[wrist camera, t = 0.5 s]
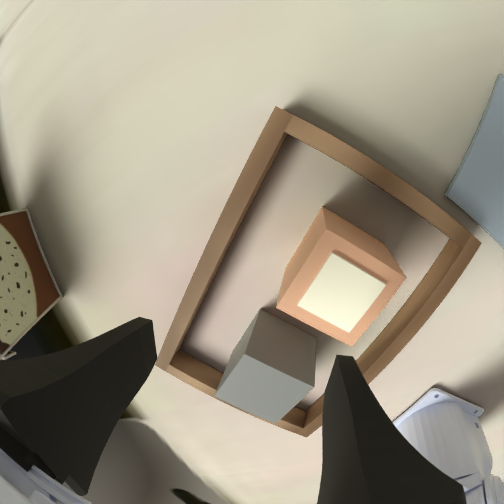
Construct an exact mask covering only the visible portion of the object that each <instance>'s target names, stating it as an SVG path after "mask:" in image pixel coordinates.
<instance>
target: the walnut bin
mask: <svg viewBox="0 0 504 504" xmlns="http://www.w3.org/2000/svg"><path fill="white" fill-rule="evenodd" d="M287 134H289V135H291V136H293V137H295V138H297V139H299V140H300V141H302V142H304V143H306V144H308V145H310V146H312V147H313V148H315V149H317V150H319V151H321V152H322V153H324V154H326V155H328V156H329V157H331V158H333V159H335V160H336V161H338V162H340V163H341V164H343V165H345V166H346V167H348V168H350V169H351V170H353V171H355V172H356V173H358V174H360V175H361V176H363V177H364V178H366V179H368V180H369V181H371V182H372V183H374V184H375V185H377V186H378V187H380V188H381V189H383V190H384V191H386V192H387V193H389V194H390V195H392V196H393V197H395V198H396V199H398V200H399V201H401V202H402V203H404V204H405V205H406V206H408V207H409V208H411V209H412V210H413V211H415V212H416V213H418V214H419V215H420V216H422V217H423V218H424V219H426V220H427V221H428V222H430V223H431V224H432V225H434V226H435V227H436V228H438V229H439V230H440V231H442V232H443V233H444V234H445V235H447V236H448V237H449V238H450V239H449V241H448V242H447V244H446V245H445V247H444V249H443V250H442V252H441V253H440V255H439V256H438V258H437V259H436V261H435V262H434V264H433V265H432V267H431V268H430V270H429V271H428V272H427V274H426V275H425V277H424V278H423V280H422V281H421V282H420V284H419V285H418V286H417V288H416V289H415V291H414V292H413V293H412V295H411V296H410V297H409V299H408V300H407V301H406V302H405V304H404V305H403V306H402V308H401V309H400V310H399V311H398V313H397V314H396V315H395V316H394V318H393V319H392V320H391V321H390V323H389V324H388V325H387V326H386V327H385V329H384V330H383V331H382V332H381V333H380V335H379V336H378V337H377V338H376V339H375V340H374V341H373V343H372V344H371V345H370V346H369V347H368V348H367V349H366V351H365V352H364V353H363V354H362V355H361V356H360V357H359V358H358V359H357V360H356V363H357V365H358V367H359V369H360V371H361V373H362V375H363V376H364V378H365V380H366V382H367V384H369V383H370V382H371V381H372V380H373V379H374V378H375V377H376V376H377V375H378V374H379V373H380V372H381V371H382V370H383V369H384V368H385V367H386V366H387V365H388V364H389V363H390V362H391V361H392V360H393V359H394V358H395V357H396V355H397V354H398V353H399V352H400V351H401V350H402V349H403V348H404V347H405V346H406V344H407V343H408V342H409V341H410V340H411V339H412V338H413V337H414V335H415V334H416V333H417V332H418V331H419V329H420V328H421V327H422V326H423V325H424V323H425V322H426V321H427V320H428V319H429V317H430V316H431V315H432V314H433V312H434V311H435V310H436V308H437V307H438V306H439V305H440V303H441V302H442V301H443V299H444V298H445V297H446V295H447V294H448V293H449V291H450V290H451V288H452V287H453V286H454V284H455V283H456V281H457V280H458V278H459V277H460V276H461V274H462V273H463V271H464V270H465V268H466V267H467V265H468V264H469V262H470V261H471V259H472V257H473V256H474V254H475V253H476V251H477V250H478V248H479V246H480V245H481V242H480V241H479V240H478V239H476V238H475V237H474V236H473V235H472V234H471V233H470V232H469V231H467V230H466V229H465V228H464V227H463V226H462V225H460V224H459V223H458V222H457V221H456V220H454V219H453V218H452V217H451V216H450V215H448V214H447V213H446V212H445V211H443V210H442V209H441V208H440V207H438V206H437V205H436V204H434V203H433V202H432V201H431V200H429V199H428V198H427V197H425V196H424V195H423V194H421V193H420V192H419V191H417V190H416V189H415V188H413V187H412V186H410V185H409V184H408V183H406V182H405V181H403V180H402V179H400V178H399V177H398V176H396V175H395V174H393V173H392V172H390V171H389V170H387V169H386V168H384V167H383V166H381V165H380V164H378V163H377V162H375V161H374V160H372V159H370V158H369V157H367V156H366V155H364V154H362V153H361V152H359V151H358V150H356V149H354V148H353V147H351V146H349V145H348V144H346V143H344V142H342V141H341V140H339V139H337V138H336V137H334V136H332V135H330V134H328V133H327V132H325V131H323V130H321V129H319V128H318V127H316V126H314V125H312V124H310V123H308V122H306V121H304V120H302V119H301V118H299V117H297V116H295V115H293V114H291V113H289V112H287V111H285V110H282V109H280V108H278V107H276V106H275V108H274V110H273V112H272V114H271V116H270V118H269V120H268V121H267V123H266V125H265V127H264V129H263V131H262V133H261V135H260V137H259V139H258V141H257V143H256V145H255V147H254V149H253V150H252V152H251V154H250V156H249V158H248V160H247V162H246V164H245V166H244V168H243V170H242V172H241V174H240V176H239V178H238V180H237V182H236V184H235V186H234V189H233V191H232V193H231V195H230V197H229V199H228V201H227V203H226V205H225V207H224V209H223V211H222V213H221V215H220V218H219V220H218V222H217V224H216V226H215V228H214V230H213V232H212V235H211V237H210V239H209V241H208V243H207V245H206V248H205V250H204V252H203V254H202V256H201V258H200V261H199V263H198V265H197V267H196V270H195V272H194V274H193V276H192V279H191V281H190V283H189V285H188V288H187V290H186V292H185V294H184V297H183V299H182V301H181V304H180V306H179V308H178V311H177V313H176V315H175V318H174V320H173V322H172V325H171V327H170V329H169V332H168V334H167V337H166V339H165V341H164V344H163V346H162V349H161V351H160V354H159V356H158V359H157V361H156V364H155V365H156V366H157V367H159V368H161V369H163V370H164V371H166V372H168V373H169V374H171V375H173V376H175V377H176V378H178V379H180V380H182V381H183V382H185V383H187V384H189V385H191V386H193V387H194V388H196V389H198V390H200V391H202V392H204V393H206V394H208V395H210V396H212V397H214V398H216V399H218V400H220V401H222V402H224V403H226V404H228V405H230V406H232V407H234V408H236V409H239V410H241V411H243V412H245V413H247V414H250V415H252V416H254V417H256V418H259V419H261V420H263V421H266V422H268V423H271V424H273V425H276V426H278V427H281V428H283V429H286V430H288V431H291V432H294V433H296V434H299V435H302V436H304V437H308V436H309V435H310V434H312V433H313V432H314V431H315V430H317V429H318V428H319V427H320V426H322V413H323V403H324V394H323V395H322V396H321V397H320V398H319V399H318V400H317V401H316V402H315V403H313V404H312V405H311V406H310V407H309V408H308V409H307V410H306V411H304V410H301V409H299V408H296V407H293V408H292V409H291V410H290V411H289V412H288V413H287V414H286V415H285V416H284V417H283V418H282V419H280V420H279V421H278V422H277V423H276V424H275V423H272V422H270V421H267V420H265V419H263V418H260V417H258V416H256V415H253V414H251V413H249V412H247V411H244V410H242V409H240V408H238V407H236V406H234V405H231V404H229V403H227V402H225V401H223V400H221V399H219V398H217V397H215V396H214V395H215V393H216V391H217V388H218V386H219V383H220V381H221V379H222V376H223V373H221V372H219V371H217V370H215V369H214V368H212V367H210V366H208V365H206V364H204V363H202V362H201V361H199V360H197V359H195V358H193V357H192V356H190V355H188V354H186V353H184V352H183V351H181V350H179V348H180V346H181V344H182V342H183V340H184V338H185V335H186V333H187V331H188V329H189V327H190V325H191V323H192V321H193V319H194V317H195V315H196V313H197V311H198V309H199V306H200V304H201V302H202V300H203V298H204V296H205V294H206V292H207V290H208V288H209V286H210V284H211V282H212V280H213V278H214V276H215V274H216V272H217V270H218V268H219V266H220V264H221V262H222V260H223V258H224V256H225V254H226V252H227V250H228V248H229V246H230V244H231V242H232V240H233V238H234V236H235V234H236V232H237V230H238V228H239V226H240V224H241V222H242V220H243V218H244V216H245V214H246V212H247V210H248V208H249V207H250V205H251V203H252V201H253V199H254V197H255V195H256V193H257V191H258V189H259V187H260V185H261V183H262V181H263V179H264V178H265V176H266V174H267V172H268V170H269V168H270V166H271V164H272V162H273V160H274V158H275V157H276V155H277V153H278V151H279V149H280V147H281V145H282V143H283V141H284V140H285V138H286V136H287Z"/></svg>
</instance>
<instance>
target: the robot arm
mask: <svg viewBox="0 0 504 504" xmlns="http://www.w3.org/2000/svg"><path fill="white" fill-rule="evenodd" d="M156 360H157V353H156V346H155V338H154V331H153V322H152V320H149V319H145V318H142V317H138V318H136V319H133V320H131V321H129V322H127V323H125V324H123V325H121V326H119V327H116V328H114V329H112V330H110V331H108V332H106V333H104V334H102V335H100V336H98V337H95V338H93V339H91V340H88V341H86V342H83V343H81V344H79V345H76V346H74V347H71V348H68V349H65V350H62V351H59V352H55V353H52V354H48V355H43V356H38V357H34V358H29V359H21V360H12V361H11V360H10V361H0V504H57V502H56V500H57V501H58V502H60V503H61V504H92V503H90V502H89V501H87V500H85V499H84V498H82V497H80V496H83V495H86V494H87V493H88V489H89V486H90V483H91V480H92V477H93V474H94V471H95V468H96V466H97V463H98V461H99V459H100V456H101V454H102V451H103V449H104V447H105V445H106V443H107V441H108V438H109V436H110V435H111V433H112V431H113V429H114V427H115V425H116V423H117V422H118V420H119V418H120V417H121V415H122V414H123V412H124V411H125V409H126V408H127V407H128V405H129V404H130V402H131V401H132V400H133V398H134V397H135V395H136V394H137V393H138V391H139V390H140V388H141V387H142V385H143V384H144V382H145V381H146V380H147V378H148V376H149V374H150V372H151V371H152V369H153V366H154V364H155V362H156ZM436 394H437V395H436ZM483 412H484V409H483V408H481V407H479V406H477V405H474V404H472V403H470V402H467V401H465V400H463V399H460V398H458V397H456V396H454V395H451V394H449V393H447V392H444V391H442V390H440V389H438V388H432V389H430V390H429V391H428V392H427V393H426V394H425V395H424V396H423V397H422V398H421V399H419V400H418V401H417V402H416V403H415V404H414V405H413V406H412V407H410V408H409V409H408V410H407V411H406V412H404V413H403V414H402V415H401V416H400V417H398V418H397V419H396V420H395V421H394V422H392V421H391V420H390V419H389V417H388V416H387V414H386V413H385V411H384V410H383V409H382V407H381V406H380V404H379V402H378V401H377V399H376V397H375V396H374V394H373V392H372V391H371V389H370V387H369V386H368V384H367V382H366V380H365V378H364V376H363V375H362V373H361V371H360V369H359V367H358V365H357V363H356V361H355V359H354V358H353V356H343V355H337V356H336V359H335V362H334V365H333V369H332V372H331V375H330V378H329V381H328V384H327V387H326V390H325V393H324V403H323V413H322V436H323V464H322V476H321V483H320V490H319V496H318V502H317V504H504V486H503V483H502V481H501V479H500V477H499V476H494V475H493V474H490V473H491V469H492V456H491V452H490V449H489V446H488V444H487V441H486V438H485V435H484V432H483V430H482V427H481V424H480V422H479V419H478V417H480V416H481V415H482V414H483Z"/></svg>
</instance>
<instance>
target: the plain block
mask: <svg viewBox="0 0 504 504" xmlns="http://www.w3.org/2000/svg"><path fill="white" fill-rule="evenodd" d="M315 363H316V337H314V336H312V335H310V334H308V333H306V332H304V331H302V330H300V329H298V328H296V327H294V326H292V325H290V324H288V323H287V322H285V321H283V320H281V319H279V318H277V317H275V316H273V315H271V314H269V313H268V312H266V311H264V310H262V309H260V310H259V311H258V313H257V315H256V316H255V318H254V319H253V321H252V322H251V324H250V325H249V327H248V329H247V330H246V332H245V333H244V335H243V336H242V338H241V339H240V341H239V342H238V344H237V346H236V347H235V349H234V350H233V352H232V355H231V357H230V359H229V362H228V364H227V367H226V369H225V371H224V374H223V376H222V379H221V381H220V383H219V386H218V388H217V391H216V393H215V395H214V396H215V397H217V398H219V399H221V400H223V401H225V402H227V403H229V404H231V405H234V406H236V407H238V408H240V409H242V410H244V411H247V412H249V413H251V414H253V415H256V416H258V417H260V418H263V419H265V420H267V421H270V422H272V423H275V424H276V423H277V422H278V421H279V420H280V419H282V418H283V417H284V416H285V415H286V414H287V413H288V412H289V411H290V410H291V409H292V408H293V407H294V406H295V405H297V404H298V403H299V402H300V401H301V400H302V399H303V398H304V397H305V396H306V395H307V394H308V393H309V392H310V391H311V390H312V389H313V388H314V384H315Z"/></svg>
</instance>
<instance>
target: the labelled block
mask: <svg viewBox="0 0 504 504" xmlns="http://www.w3.org/2000/svg"><path fill="white" fill-rule="evenodd" d="M405 279H406V276H405V275H404V273H403V272H402V270H401V269H400V267H399V266H398V264H397V262H396V261H395V259H394V258H393V256H392V255H391V253H390V252H389V250H388V249H387V247H386V246H385V244H383V243H382V242H380V241H379V240H377V239H375V238H374V237H372V236H371V235H369V234H367V233H366V232H364V231H363V230H361V229H359V228H358V227H356V226H355V225H353V224H351V223H350V222H348V221H346V220H345V219H343V218H341V217H340V216H338V215H336V214H335V213H333V212H331V211H330V210H328V209H326V208H324V207H323V206H322V208H321V210H320V211H319V213H318V215H317V217H316V218H315V220H314V222H313V223H312V225H311V227H310V228H309V230H308V232H307V233H306V235H305V237H304V238H303V240H302V242H301V243H300V245H299V247H298V248H297V250H296V252H295V253H294V255H293V257H292V258H291V260H290V262H289V263H288V265H287V267H286V269H285V273H284V277H283V281H282V285H281V289H280V293H279V297H278V301H277V305H276V308H277V309H279V310H281V311H283V312H285V313H287V314H289V315H291V316H293V317H294V318H296V319H298V320H300V321H302V322H304V323H306V324H308V325H310V326H312V327H314V328H316V329H318V330H319V331H321V332H323V333H325V334H327V335H329V336H331V337H333V338H335V339H337V340H339V341H341V342H343V343H345V344H347V345H349V346H351V347H352V346H353V345H354V344H355V342H356V341H357V340H358V339H359V338H360V337H361V335H362V334H363V333H364V332H365V331H366V330H367V328H368V327H369V326H370V325H371V323H372V322H373V321H374V320H375V318H376V317H377V316H378V315H379V313H380V312H381V311H382V310H383V308H384V307H385V306H386V305H387V303H388V302H389V301H390V299H391V298H392V297H393V295H394V294H395V293H396V291H397V290H398V289H399V287H400V286H401V285H402V283H403V282H404V280H405Z"/></svg>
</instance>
